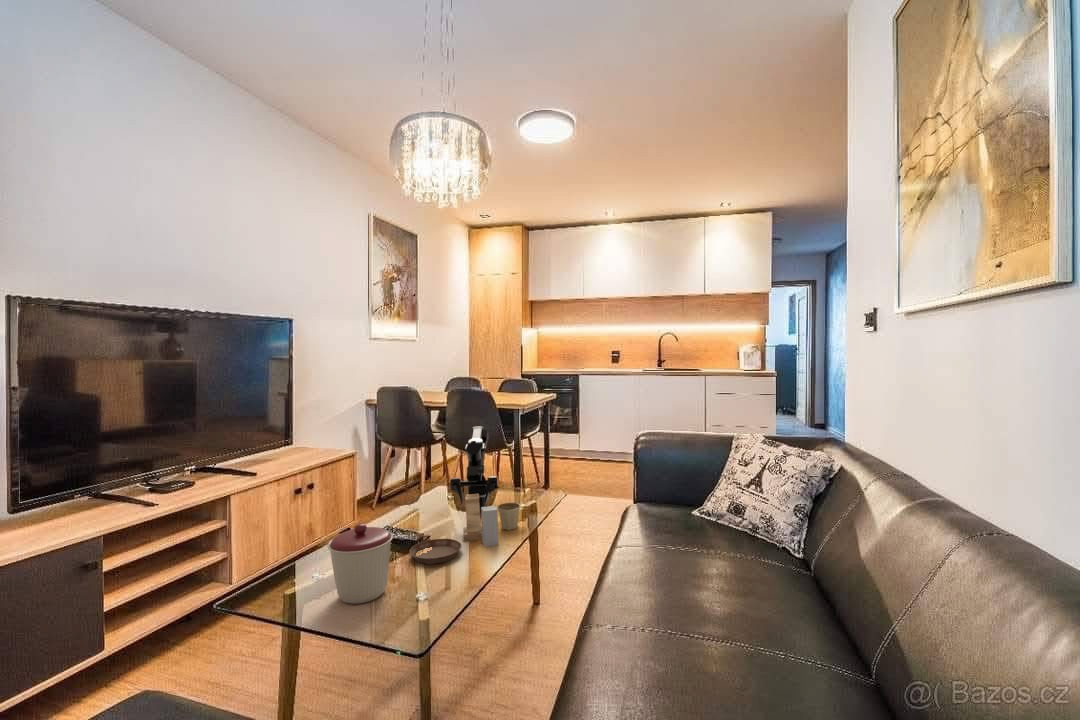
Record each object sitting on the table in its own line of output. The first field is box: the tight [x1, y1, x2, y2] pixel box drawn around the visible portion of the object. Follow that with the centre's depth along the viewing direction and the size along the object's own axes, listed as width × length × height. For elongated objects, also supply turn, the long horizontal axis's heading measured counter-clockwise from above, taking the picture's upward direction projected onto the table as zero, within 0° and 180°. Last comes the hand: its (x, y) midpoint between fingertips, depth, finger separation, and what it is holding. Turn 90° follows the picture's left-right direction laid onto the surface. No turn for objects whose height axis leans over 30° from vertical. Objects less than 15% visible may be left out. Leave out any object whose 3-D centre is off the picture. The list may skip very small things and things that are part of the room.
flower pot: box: [496, 502, 521, 531], centre depth 197 cm, size 9×9×9 cm
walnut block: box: [462, 525, 482, 542], centre depth 188 cm, size 8×8×3 cm
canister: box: [327, 523, 394, 605], centre depth 144 cm, size 18×18×21 cm
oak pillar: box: [464, 493, 482, 533], centre depth 188 cm, size 5×5×13 cm
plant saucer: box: [409, 538, 462, 565], centre depth 172 cm, size 18×18×3 cm
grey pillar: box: [480, 505, 499, 548], centre depth 181 cm, size 5×5×13 cm
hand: (473, 503), depth 191 cm, fingers open, 9 cm apart
